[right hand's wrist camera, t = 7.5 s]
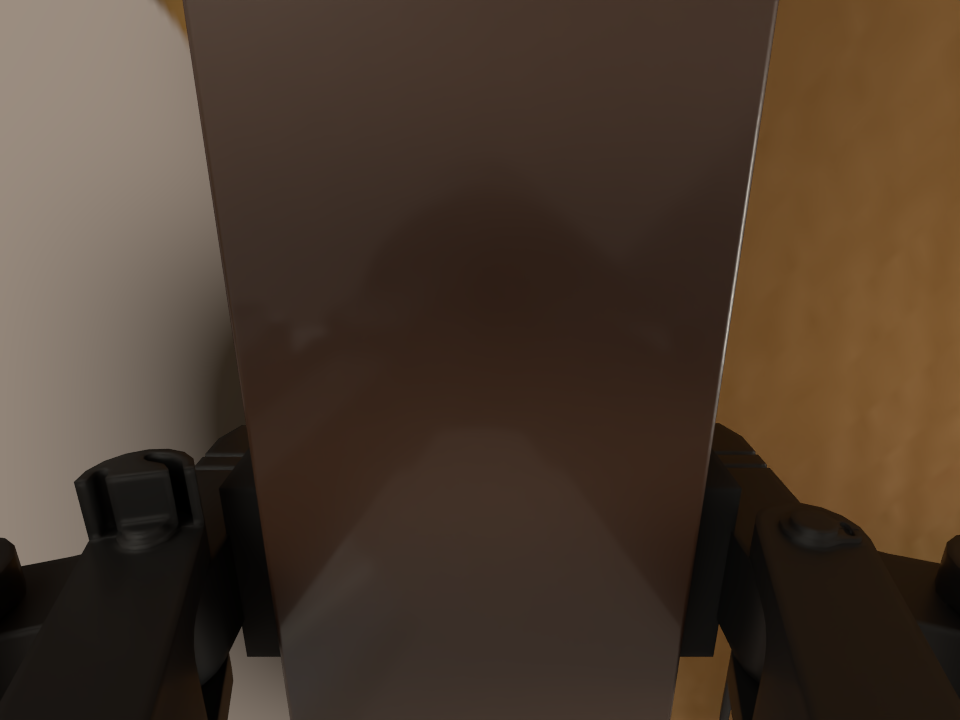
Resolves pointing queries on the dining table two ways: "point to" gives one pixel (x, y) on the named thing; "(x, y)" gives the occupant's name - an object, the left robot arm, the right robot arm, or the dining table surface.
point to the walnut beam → (480, 333)
